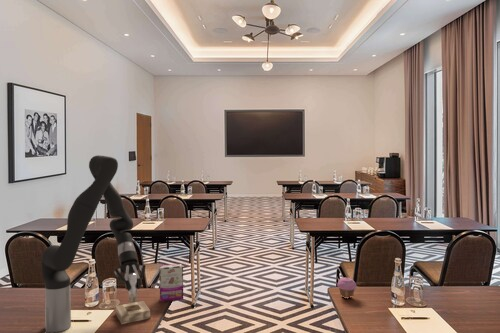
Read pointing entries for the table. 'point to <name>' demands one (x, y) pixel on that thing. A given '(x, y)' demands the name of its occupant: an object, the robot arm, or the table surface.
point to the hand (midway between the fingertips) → (133, 288)
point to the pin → (132, 287)
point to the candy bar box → (171, 282)
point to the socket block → (132, 312)
